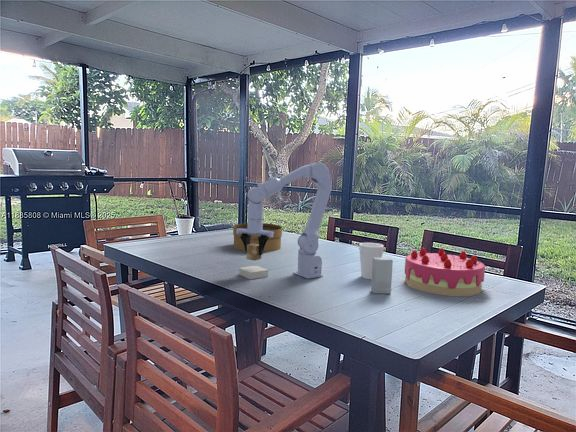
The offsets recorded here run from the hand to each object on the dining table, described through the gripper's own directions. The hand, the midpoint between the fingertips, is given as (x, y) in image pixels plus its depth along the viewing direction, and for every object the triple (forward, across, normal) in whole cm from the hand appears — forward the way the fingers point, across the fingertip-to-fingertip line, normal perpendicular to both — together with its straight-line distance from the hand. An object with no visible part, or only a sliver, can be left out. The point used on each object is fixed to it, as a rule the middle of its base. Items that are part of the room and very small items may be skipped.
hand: (254, 253), depth 161 cm
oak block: (+2, 0, 0) cm, 2 cm away
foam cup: (+9, -42, -18) cm, 47 cm away
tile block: (+9, 0, 0) cm, 9 cm away
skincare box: (+9, -48, 0) cm, 49 cm away
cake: (+9, -69, -20) cm, 72 cm away
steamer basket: (+9, +20, -52) cm, 56 cm away
